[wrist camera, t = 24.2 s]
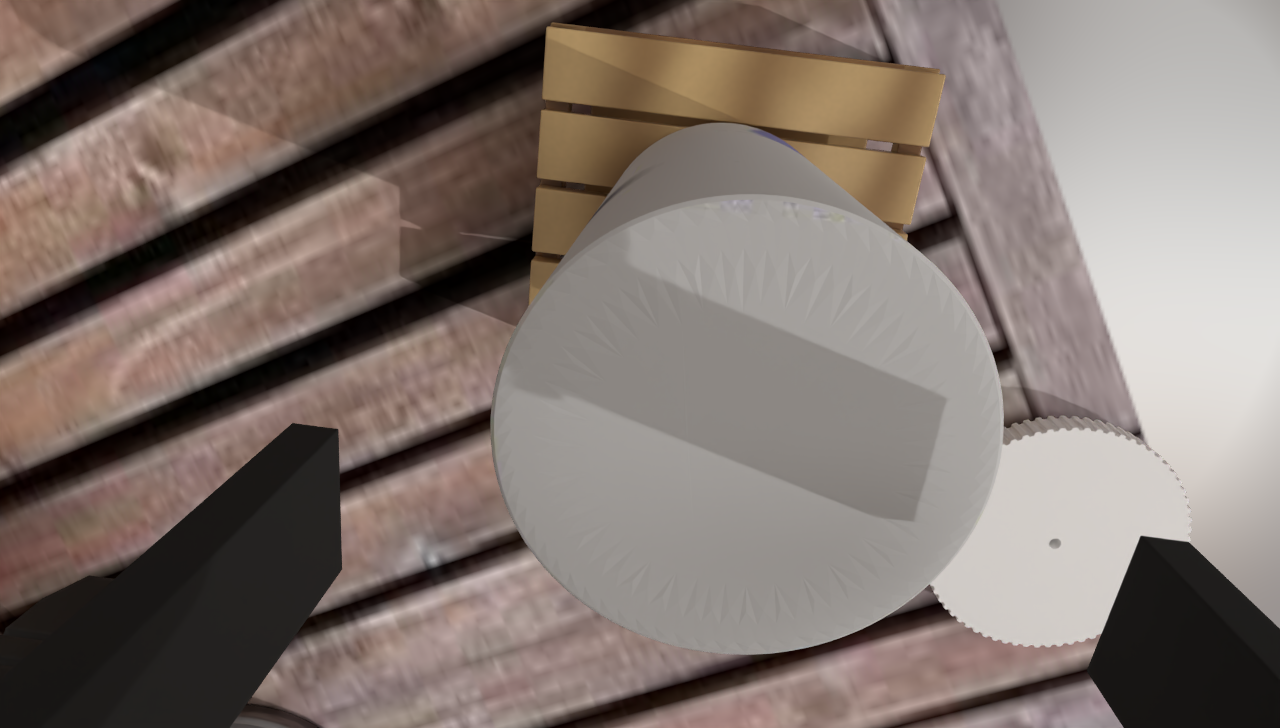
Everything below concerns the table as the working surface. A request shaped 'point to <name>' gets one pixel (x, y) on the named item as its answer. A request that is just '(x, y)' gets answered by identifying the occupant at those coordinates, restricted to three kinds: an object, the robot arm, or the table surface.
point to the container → (744, 405)
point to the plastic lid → (1060, 531)
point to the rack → (719, 119)
